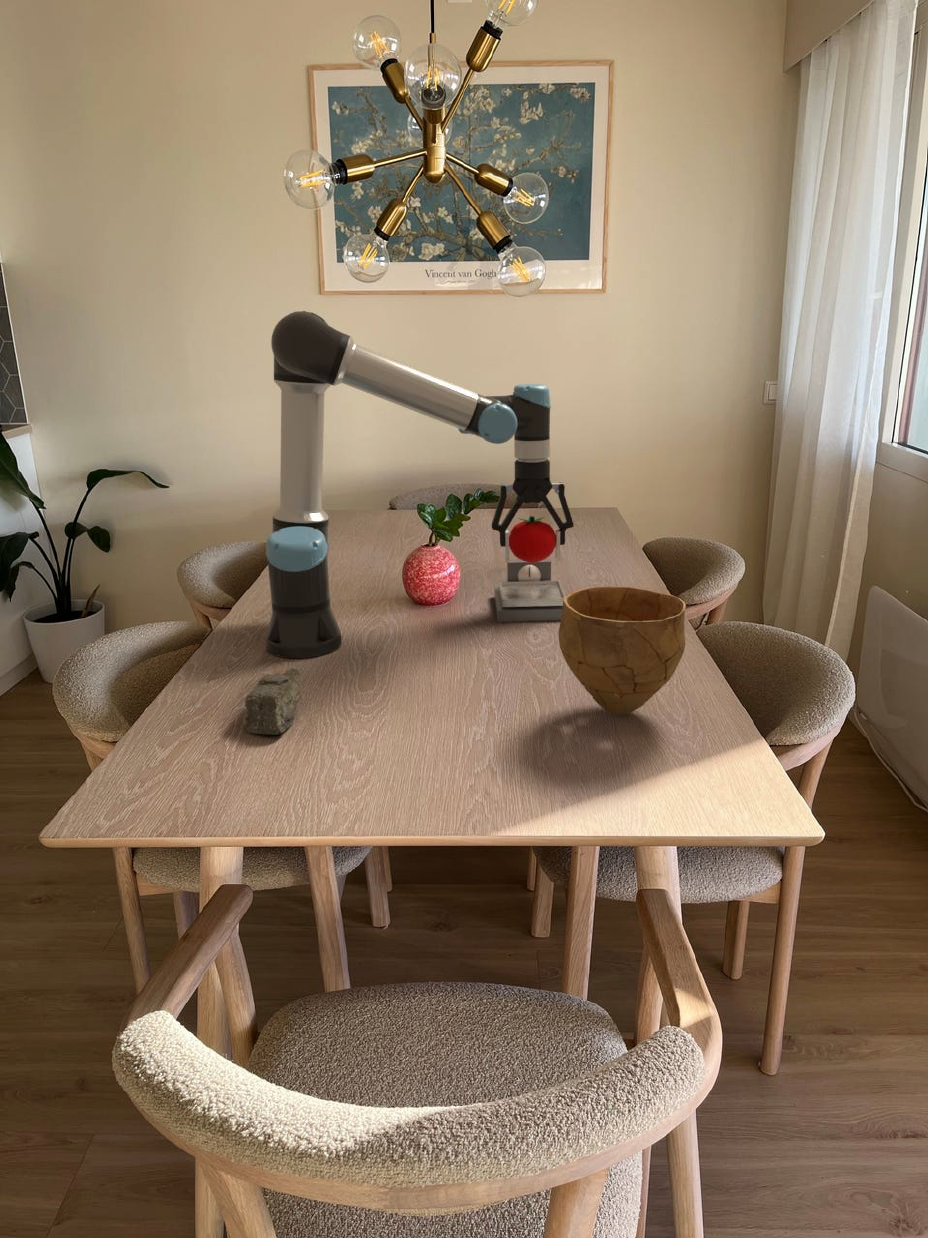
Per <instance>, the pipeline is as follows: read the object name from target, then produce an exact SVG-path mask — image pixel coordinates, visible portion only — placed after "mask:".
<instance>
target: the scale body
mask: <svg viewBox="0 0 928 1238" xmlns="http://www.w3.org/2000/svg"><path fill="white" fill-rule="evenodd" d="M547 580H552V561H551V558H546V559H544V560H542V561H539V562H526V561H523V560H520V559H509V562H506V581H547ZM562 587H563V589H564V592H565V594H566V595H567V592H566V591H565V588H564V585H563V584H562ZM493 589H494V590H493V594H494V595H493V598H494V605H495V612H496V618H497V622H498V623H499V622H500V623H501V622H503V623H505V622H538V621H539V622H542V621H544V622H545V621H561V618H562V609H563V606H526V607H502V603H501V597H500V591H499V586H494V587H493Z"/></svg>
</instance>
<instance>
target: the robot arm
mask: <svg viewBox="0 0 928 1238" xmlns="http://www.w3.org/2000/svg"><path fill="white" fill-rule="evenodd" d="M270 341H271V343H270V344H271V345H270V346H271V350H272V354H273V381H274V383H275V384H276V385H277V386H278V387H279V388H280V391H281V392H280V393H281V394H280V396H281V398H280V400H281V401H280V474H279V475H280V477H279V478H280V479H279V480H280V481H279V483H280V484H279V485H280V486H279V487H280V488H279V491H280V493H279V497H280V498H279V499H280V500H279V507H278V508H277V509H276V510H275V511H274V512H273V513H272V533H271V534H270V535H269V536H268V537H267V540H266V547H265V556H266V558H267V566H268V578H269V588H270V601H271V616H270V618H269V619H270V620H269V625H268V627H267V632H266V638H265V641H266V650H267V651H268V652H269V653H270V654H271V655H274V656H276V657H277V656H278V657H280V658H281V657H282V658H288V659H289V658H292V659H301V658H303V659H304V658H312V657H319V656H323V655H326V654H329V653H332V652H334V651H335V650H337V649H338V648H340V647H341V645H342V644H343V643H342V632H341V629H340V627H339V624H338V622H337V619H336V617H335V614H334V611H333V610H332V606H331V595H330V594H331V593H330V580H329V566H328V565H329V562H328V561H329V560H328V559H329V557H328V555H329V548H330V546H329V545H330V543H329V518H330V517H329V515H328V514H327V512H325V510H324V509H323V508H322V507H323V504H322V503H323V470H324V469H323V467H324V465H323V460H324V425H325V393H326V391H327V390H328V389H329V388H330V387H331V386H338V385H339V384H344V385H346V386H348V387H351V388H354V389H357V390H358V391H362V392H364V393H366V394H369V395H372V396H375V397H377V398H380V399H382V400H384V401H388V402H389V403H393V404H395V405H398V406H400V407H402V408H405V409H409V410H411V411H414V412H416V413H418V414H421V415H423V416H427V417H428V418H431V419H433V420H437V421H439V422H441V423H444V424H447V425H449V426H452V427H454V428H457V429H458V431H459V433H460V434H463V435H474V436H476V437H479V438H482V439H483V440H484V441H486V442H488V443H491V444H495V445H500V444H504V443H507V442H508V441H510V440H511V439H512V438H513V437H514V438H513V439H514V456H513V457H514V458H515V461H514V481H513V483H512V484H505V483H501V484H500V485H499V488H500V490H499V491H500V494H499V498H498V502H497V505H496V508H495V511H494V515H493V518H492V520H491V521H492V522H491V524H490V525H491V530H493V531H497V532H499V544H500V547H502V548H503V547H504V555H505V556H504V560H505V563H507V562H509V560H510V547H509V535H510V532H509V530H508V527H509V526H510V524H511V523H512V521H513V520H514V518H515V516H516V514H517V513H518V511H519V510H520V508H521V507H522V506H523V503H525V504H531V503H534V504H540V503H543V505H544V506H545V508H546V509H547V511H548V512H549V514H550V516H551V518H552V519H553V520H554V522H555V524H556V525H557V527H558V528H555V530H554V532H555V535H556V546H555V549H554V553H555V554H554V556H555V557H554V558H555V560H556V562H557V561H558V562H559V561H561V546H564V545H565V544H566V531H567V530H568V529H572V528H574V526H575V524H574V521H573V518H572V516H571V515H572V514H571V511H570V508H569V504H568V502H567V499H566V495H565V490H566V487H565V484H564V483H563V482H562V481H560V482H558V483H556V482H551V477H550V476H551V462H550V460H549V458H550V457H551V437H550V436H551V435H550V431H551V430H550V429H551V428H550V427H551V426H550V424H551V420H550V419H551V409H552V408H551V407H552V406H551V401H550V400H551V397H550V395H551V394H550V389H549V387H548V386H547V385H545V384H543V383H542V384H541V383H526V384H525V383H524V384H516V385H515V386H514V387H513V392H512V394H507V395H490V396H489V395H487V396H484V395H482V394H479V393H477V392H474V391H472V390H470V389H467V388H465V387H462V386H459V385H457V384H455V383H452V382H450V381H447V380H445V379H442V378H440V377H438V376H435V375H432V374H430V373H428V372H425V371H423V370H420V369H418V368H415V367H412V366H411V365H408V364H406V363H404V362H401V361H399V360H395V359H393V358H390V357H388V356H386V355H383V354H380V353H378V352H376V351H374V350H371V349H368V348H366V347H363V346H361V345H359V344H357V343H355V342H354V339H353V337H352V336H351V335H349V334H346V333H343V332H341V331H339V330H337V329H335V328H334V327H332V326H330V325H329V324H328V323H327V321H325V319H324V318H323V317H321V316H319V314H317V313H314V312H310V311H305V310H302V311H300V310H296V311H294V312H291V313H288V314H287V315H285V316H284V317H282V318H281V319H280V320H279V321H278V322H277V324H276V325H275V327H274V328H273V332H272V334H271V340H270ZM552 489H553V491H554V493H555V494H557V497H558V500H559V503H560V505H561V509H562V512H563V515H564V519H565V522H563V521H562V519H561V518H560V516H559V514H558V513H557V511H556V509H555V508H554V506H553V505H552V503H551V501H550V500H549V498H548V497H547V496H548V494H549V493H550V492H551V490H552ZM512 491H514V492H515V494H516V498H515V499H514V502H513V504H512V506H511V507H510V508H509V511H508V512H507V514H506V515H505V517H504V519H503V520H502V522H501V524H500V521H501V517H502V514H503V511H504V509H505V508H504V507H505V504H506V501H507V496H509V495H510V494H511V492H512Z"/></svg>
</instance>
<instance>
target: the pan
mask: <svg viewBox="0 0 928 1238" xmlns="http://www.w3.org/2000/svg"><path fill="white" fill-rule="evenodd" d="M562 585H563V584H562V581H561V580H560V579H556V580H555V579H554V580H553V579H551V580H547V581H507V580H506V581H498V587H499V591H500V597H501V603H502V607H526V606H563V598H565V596H566V595H567V593H566V591H565V592H564V590H565V588H564V586H563V587H562ZM563 588H564V589H563ZM565 593H566V594H565Z"/></svg>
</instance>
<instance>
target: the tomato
mask: <svg viewBox="0 0 928 1238" xmlns="http://www.w3.org/2000/svg"><path fill="white" fill-rule="evenodd" d="M544 518H545V516H544V517H540V518H537V519H535V516H533V515H529V517H528V518H527V519H525V518H520V517H517V519H519V520H521V522H519V523H517V524H515V525H514V526H513V527H512V529H511V531H510V532H509V550H510V551H511V553H512V554H513V555H514V556H515V557H516V558H517V559H518V560H523V561H526V562H539V561H542V560H544V559H548V558H550V556H551V555H552V553H553V552H555V546H556V535H555V530H554V529H553V526H551V525H550V524H549V523H548V522H545V521H543V520H542V519H544Z"/></svg>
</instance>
